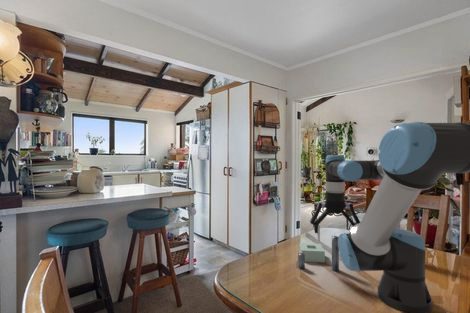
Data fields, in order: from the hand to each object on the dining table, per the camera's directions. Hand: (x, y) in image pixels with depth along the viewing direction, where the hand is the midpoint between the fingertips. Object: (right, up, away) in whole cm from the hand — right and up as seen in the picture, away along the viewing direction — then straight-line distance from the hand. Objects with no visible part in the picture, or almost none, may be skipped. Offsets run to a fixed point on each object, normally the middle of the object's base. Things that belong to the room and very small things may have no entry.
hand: (334, 241), depth 107 cm
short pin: (-14, -12, +2) cm, 18 cm away
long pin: (0, -12, 0) cm, 12 cm away
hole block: (-6, -12, +13) cm, 18 cm away
